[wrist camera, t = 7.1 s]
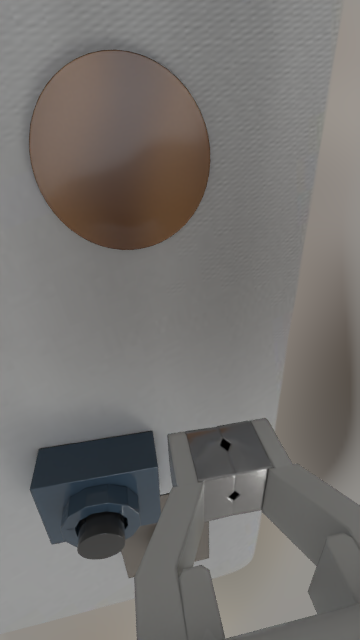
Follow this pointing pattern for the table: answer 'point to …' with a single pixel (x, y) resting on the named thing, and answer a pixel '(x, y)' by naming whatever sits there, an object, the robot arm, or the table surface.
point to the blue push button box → (97, 484)
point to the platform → (142, 537)
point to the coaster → (119, 149)
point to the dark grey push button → (101, 535)
